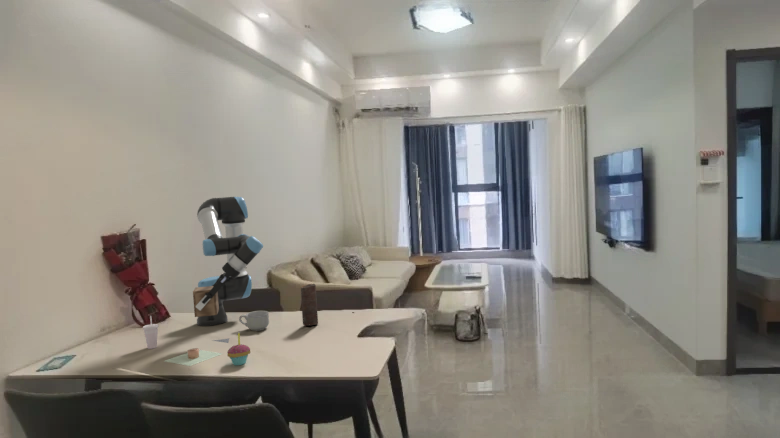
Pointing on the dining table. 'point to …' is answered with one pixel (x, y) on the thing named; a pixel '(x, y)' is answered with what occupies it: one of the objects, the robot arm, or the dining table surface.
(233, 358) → the cupcake
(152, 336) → the smoothie
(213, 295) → the robot arm
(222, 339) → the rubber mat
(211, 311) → the walnut cover
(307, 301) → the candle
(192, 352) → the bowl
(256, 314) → the teacup
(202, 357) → the green board
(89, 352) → the dining table surface
